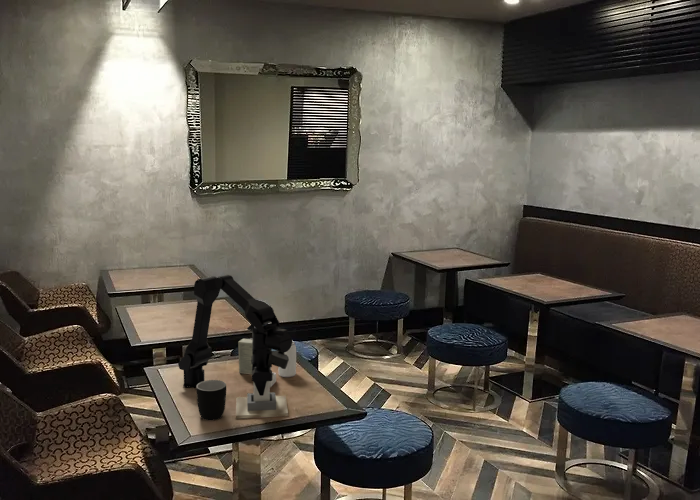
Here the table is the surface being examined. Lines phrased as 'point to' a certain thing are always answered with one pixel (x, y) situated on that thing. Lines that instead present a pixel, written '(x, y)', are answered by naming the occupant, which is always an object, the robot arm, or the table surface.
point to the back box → (261, 403)
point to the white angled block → (273, 379)
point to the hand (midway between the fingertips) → (261, 392)
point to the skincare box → (245, 356)
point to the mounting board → (243, 413)
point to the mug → (211, 399)
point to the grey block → (266, 393)
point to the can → (289, 363)
